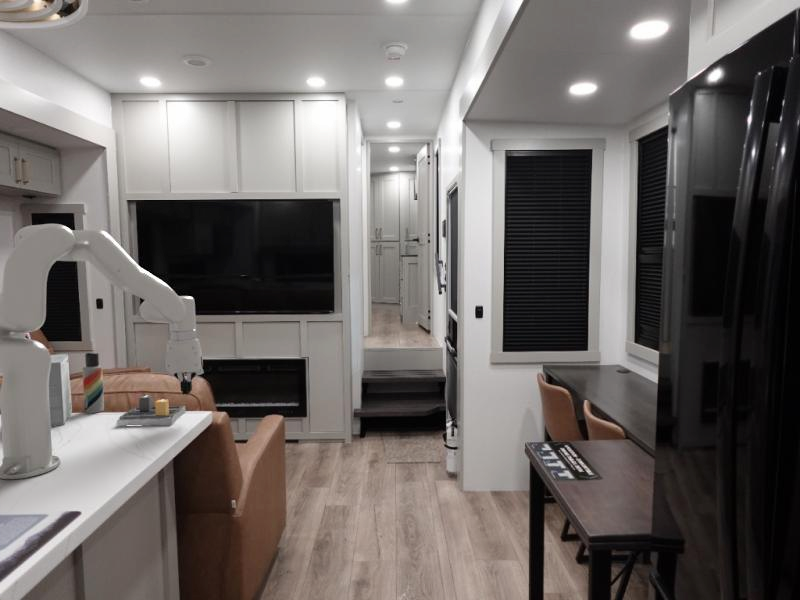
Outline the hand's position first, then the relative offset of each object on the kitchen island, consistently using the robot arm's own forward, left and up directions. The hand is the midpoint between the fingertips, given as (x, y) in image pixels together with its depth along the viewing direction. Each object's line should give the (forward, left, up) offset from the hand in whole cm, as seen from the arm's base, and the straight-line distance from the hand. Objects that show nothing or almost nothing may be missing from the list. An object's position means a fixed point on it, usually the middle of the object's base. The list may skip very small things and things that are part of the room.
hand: (186, 393), depth 163 cm
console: (+3, +11, -9) cm, 15 cm away
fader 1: (+6, +14, -7) cm, 17 cm away
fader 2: (0, +7, -7) cm, 10 cm away
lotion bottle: (+15, +34, -9) cm, 38 cm away
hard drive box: (+6, +42, -9) cm, 44 cm away
